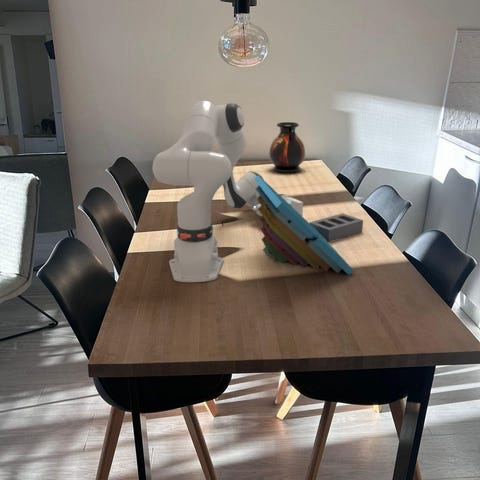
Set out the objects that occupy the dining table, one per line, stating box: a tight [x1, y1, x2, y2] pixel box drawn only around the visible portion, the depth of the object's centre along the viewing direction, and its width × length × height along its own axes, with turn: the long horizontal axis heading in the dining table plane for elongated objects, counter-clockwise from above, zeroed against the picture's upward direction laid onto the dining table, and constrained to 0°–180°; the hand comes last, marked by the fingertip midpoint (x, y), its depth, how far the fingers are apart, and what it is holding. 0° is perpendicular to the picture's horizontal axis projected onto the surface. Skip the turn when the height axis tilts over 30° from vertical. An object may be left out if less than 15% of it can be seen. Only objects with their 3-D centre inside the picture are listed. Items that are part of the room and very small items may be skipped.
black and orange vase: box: [268, 121, 306, 174], centre depth 292 cm, size 22×22×28 cm
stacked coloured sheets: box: [254, 174, 355, 276], centre depth 172 cm, size 35×18×35 cm
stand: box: [308, 213, 364, 243], centre depth 196 cm, size 11×19×5 cm, turn 125°
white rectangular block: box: [291, 198, 304, 217], centre depth 200 cm, size 5×2×12 cm, turn 35°
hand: (290, 211), depth 203 cm, fingers open, 8 cm apart
